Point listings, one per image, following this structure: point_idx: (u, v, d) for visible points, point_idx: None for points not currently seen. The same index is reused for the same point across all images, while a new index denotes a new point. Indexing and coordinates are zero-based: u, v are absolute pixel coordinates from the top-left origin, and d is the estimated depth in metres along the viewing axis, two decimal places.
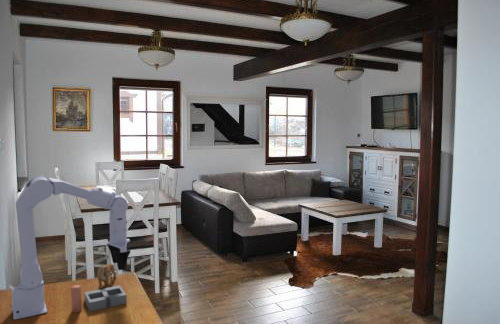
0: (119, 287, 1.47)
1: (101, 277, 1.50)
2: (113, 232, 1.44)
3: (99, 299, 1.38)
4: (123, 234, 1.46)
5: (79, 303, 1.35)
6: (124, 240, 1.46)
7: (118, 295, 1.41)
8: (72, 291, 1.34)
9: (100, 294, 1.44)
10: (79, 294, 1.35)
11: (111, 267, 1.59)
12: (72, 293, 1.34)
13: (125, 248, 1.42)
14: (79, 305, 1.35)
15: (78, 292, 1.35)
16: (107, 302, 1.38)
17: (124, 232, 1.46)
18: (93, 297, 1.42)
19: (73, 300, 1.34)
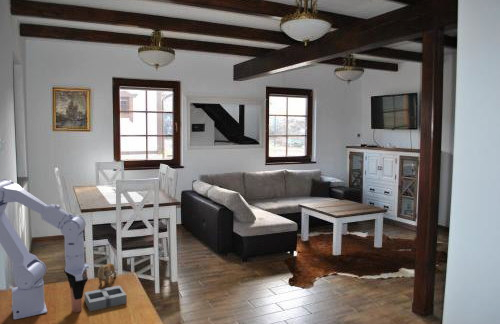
0: (119, 287, 1.47)
1: (101, 277, 1.51)
2: (68, 258, 1.31)
3: (99, 299, 1.38)
4: (80, 260, 1.33)
5: (79, 303, 1.35)
6: (81, 266, 1.33)
7: (118, 295, 1.41)
8: (72, 291, 1.34)
9: (100, 294, 1.44)
10: None
11: (112, 266, 1.60)
12: (72, 293, 1.34)
13: (81, 276, 1.29)
14: (79, 305, 1.35)
15: None
16: (107, 302, 1.38)
17: (81, 257, 1.33)
18: (93, 297, 1.42)
19: (73, 300, 1.34)
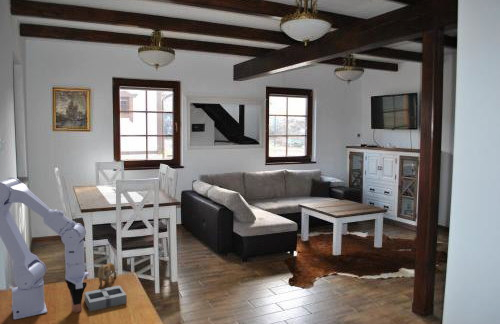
0: (119, 287, 1.47)
1: (102, 276, 1.51)
2: (69, 266, 1.32)
3: (99, 299, 1.38)
4: (80, 268, 1.33)
5: None
6: (81, 274, 1.34)
7: (118, 295, 1.41)
8: None
9: (100, 294, 1.44)
10: None
11: (112, 266, 1.60)
12: None
13: (81, 284, 1.29)
14: (79, 305, 1.35)
15: None
16: (107, 302, 1.38)
17: (81, 265, 1.33)
18: (93, 297, 1.42)
19: None
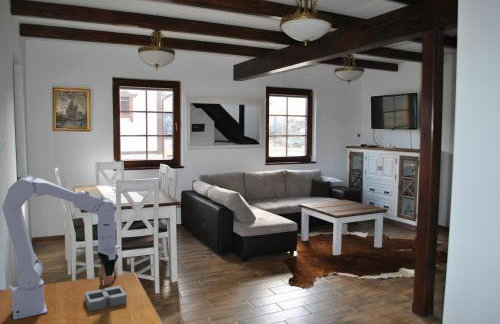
0: (119, 287, 1.47)
1: (102, 276, 1.51)
2: (101, 238, 1.37)
3: (99, 299, 1.38)
4: (112, 240, 1.39)
5: (111, 275, 1.41)
6: (113, 247, 1.39)
7: (118, 295, 1.41)
8: None
9: (100, 294, 1.44)
10: None
11: None
12: None
13: (114, 255, 1.35)
14: (111, 277, 1.41)
15: None
16: (107, 302, 1.38)
17: (113, 238, 1.39)
18: (93, 297, 1.42)
19: None
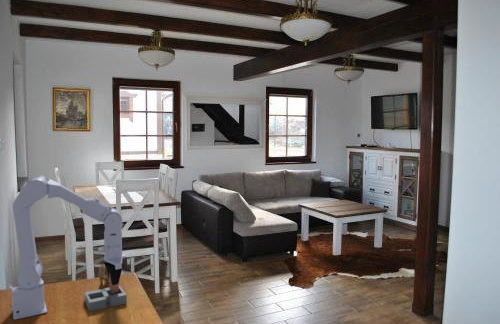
0: (119, 287, 1.47)
1: (102, 276, 1.52)
2: (108, 248, 1.39)
3: (99, 299, 1.38)
4: (118, 250, 1.40)
5: (117, 284, 1.43)
6: (119, 256, 1.41)
7: (118, 295, 1.41)
8: None
9: (100, 294, 1.44)
10: None
11: None
12: None
13: (120, 265, 1.37)
14: (117, 286, 1.43)
15: None
16: (107, 302, 1.38)
17: (119, 248, 1.41)
18: (93, 297, 1.42)
19: None
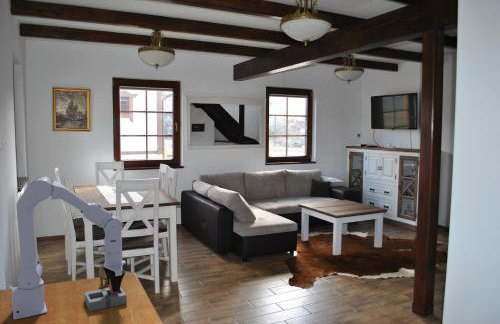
0: None
1: (102, 275, 1.52)
2: (108, 254, 1.39)
3: (99, 299, 1.38)
4: (118, 256, 1.41)
5: (117, 293, 1.43)
6: (119, 262, 1.41)
7: (118, 295, 1.41)
8: None
9: (100, 294, 1.44)
10: None
11: None
12: None
13: (120, 271, 1.37)
14: None
15: None
16: (107, 302, 1.38)
17: (119, 254, 1.41)
18: (93, 297, 1.42)
19: (111, 290, 1.42)
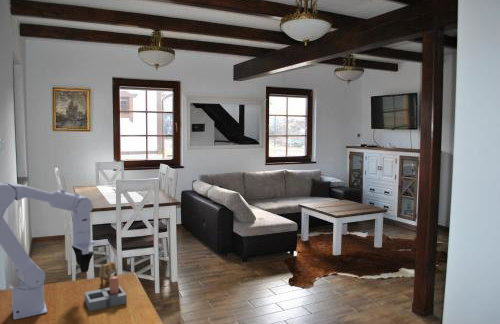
0: (119, 287, 1.47)
1: (103, 275, 1.52)
2: (76, 233, 1.41)
3: (99, 299, 1.38)
4: (86, 235, 1.43)
5: (117, 293, 1.43)
6: (87, 242, 1.43)
7: (118, 295, 1.41)
8: (111, 282, 1.42)
9: (100, 294, 1.44)
10: (117, 285, 1.43)
11: (113, 265, 1.61)
12: (111, 284, 1.42)
13: (87, 250, 1.39)
14: None
15: (116, 283, 1.42)
16: (107, 302, 1.38)
17: (87, 233, 1.43)
18: (93, 297, 1.42)
19: (112, 290, 1.42)
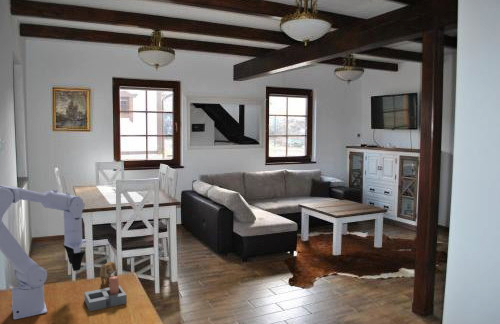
0: (119, 287, 1.47)
1: (104, 275, 1.52)
2: (67, 232, 1.42)
3: (99, 299, 1.38)
4: (78, 234, 1.44)
5: (117, 293, 1.43)
6: (79, 240, 1.44)
7: (118, 295, 1.41)
8: (111, 282, 1.42)
9: (100, 294, 1.44)
10: (117, 284, 1.43)
11: (113, 265, 1.62)
12: (111, 284, 1.42)
13: (79, 249, 1.40)
14: None
15: (116, 283, 1.42)
16: (107, 302, 1.38)
17: (79, 232, 1.44)
18: (93, 297, 1.42)
19: (111, 290, 1.42)
